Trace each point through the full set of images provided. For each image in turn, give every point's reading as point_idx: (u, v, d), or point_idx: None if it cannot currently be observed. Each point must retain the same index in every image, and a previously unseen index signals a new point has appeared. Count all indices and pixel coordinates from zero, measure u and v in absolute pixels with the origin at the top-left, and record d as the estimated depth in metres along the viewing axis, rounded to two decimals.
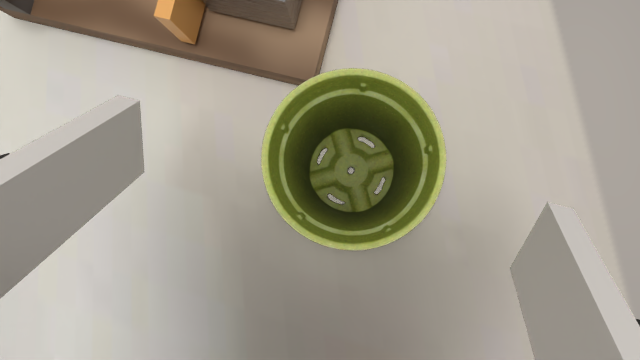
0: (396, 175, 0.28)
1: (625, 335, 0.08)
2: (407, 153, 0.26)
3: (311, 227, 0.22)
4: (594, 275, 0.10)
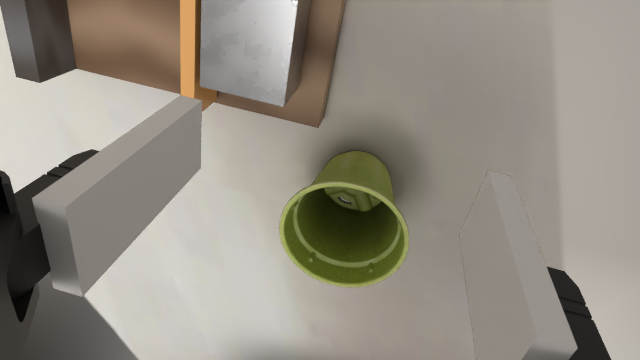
0: None
1: (532, 275, 0.09)
2: None
3: (319, 265, 0.33)
4: (516, 229, 0.11)
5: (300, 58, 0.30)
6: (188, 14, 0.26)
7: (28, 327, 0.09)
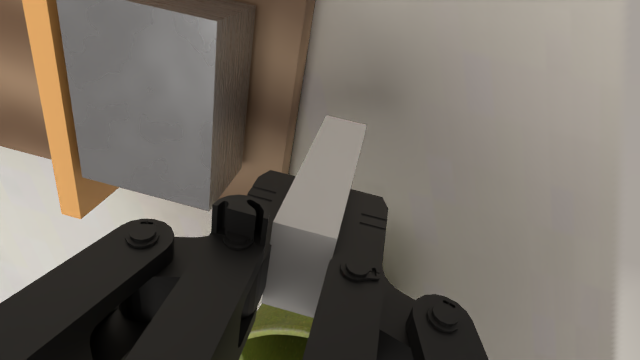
0: None
1: (332, 192, 0.11)
2: None
3: None
4: (341, 161, 0.12)
5: (239, 131, 0.20)
6: (48, 73, 0.16)
7: (241, 352, 0.09)
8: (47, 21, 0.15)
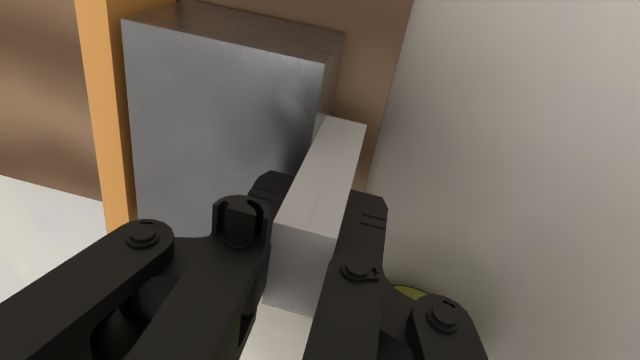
0: None
1: (331, 191, 0.11)
2: None
3: None
4: (341, 161, 0.12)
5: None
6: (106, 121, 0.14)
7: (241, 351, 0.09)
8: (109, 61, 0.13)
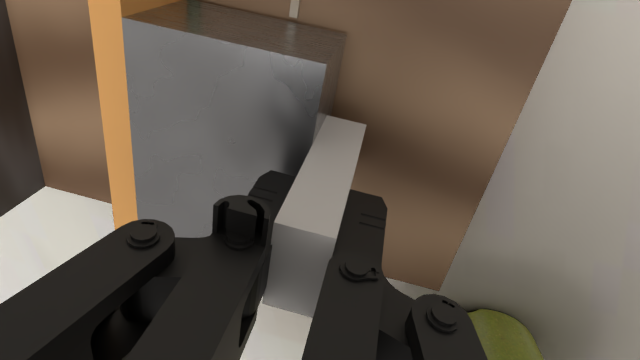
0: None
1: (331, 191, 0.11)
2: None
3: None
4: (341, 161, 0.12)
5: None
6: (118, 123, 0.14)
7: (241, 352, 0.09)
8: (122, 63, 0.13)
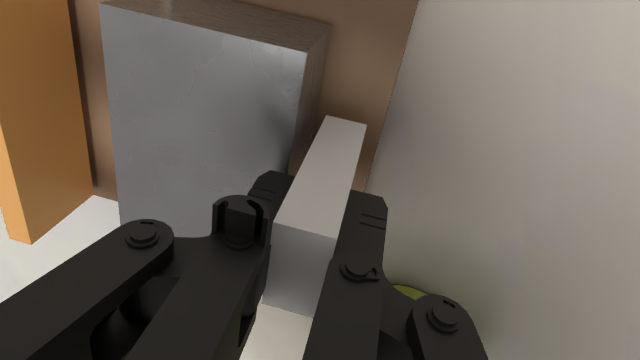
0: None
1: (331, 192, 0.11)
2: None
3: None
4: (341, 161, 0.12)
5: None
6: None
7: (241, 352, 0.09)
8: None
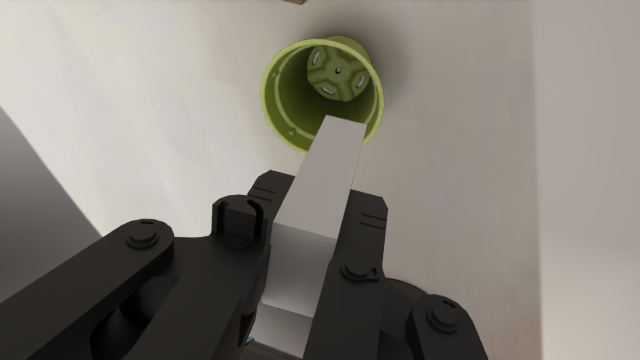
0: (371, 78, 0.37)
1: (332, 192, 0.11)
2: None
3: (299, 139, 0.34)
4: (341, 161, 0.12)
5: None
6: None
7: (241, 351, 0.09)
8: None
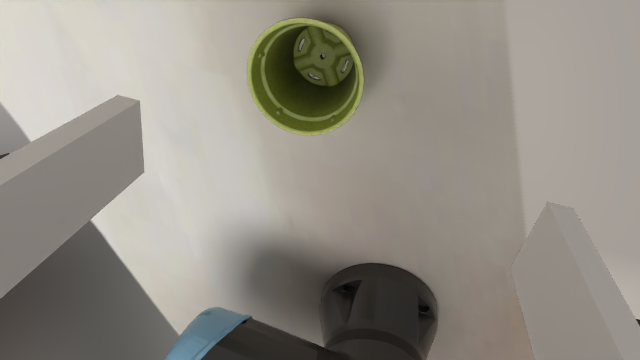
0: None
1: (625, 335, 0.08)
2: None
3: (285, 118, 0.36)
4: (594, 275, 0.10)
5: None
6: None
7: None
8: None
